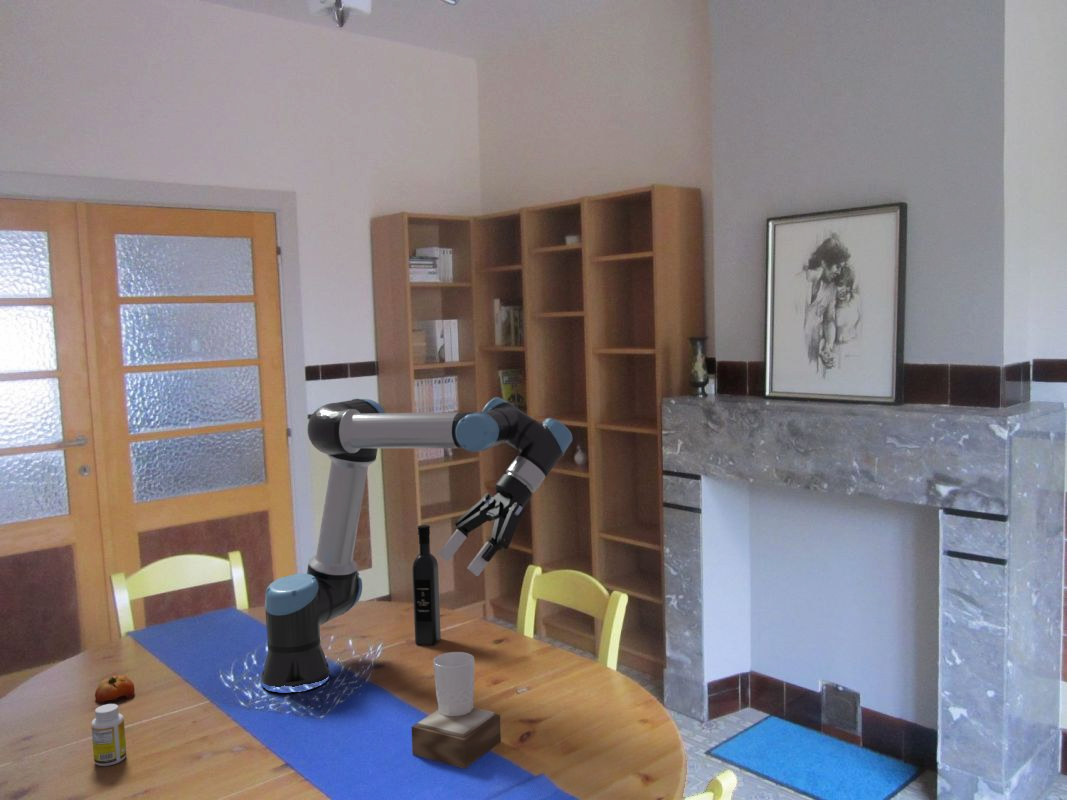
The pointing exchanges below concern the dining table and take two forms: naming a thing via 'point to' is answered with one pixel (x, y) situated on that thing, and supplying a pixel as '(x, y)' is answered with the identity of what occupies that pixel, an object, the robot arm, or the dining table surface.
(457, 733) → the base
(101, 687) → the tomato
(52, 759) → the dining table surface
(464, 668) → the white cup
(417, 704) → the dining table surface
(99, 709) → the supplement bottle
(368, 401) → the robot arm
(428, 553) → the wine bottle
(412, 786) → the dining table surface
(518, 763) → the dining table surface
